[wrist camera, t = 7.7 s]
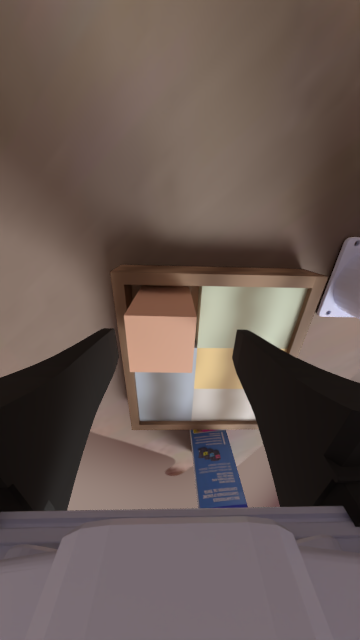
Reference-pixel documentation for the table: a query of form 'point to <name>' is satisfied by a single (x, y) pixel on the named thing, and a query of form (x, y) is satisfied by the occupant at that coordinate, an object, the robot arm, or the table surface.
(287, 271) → the puzzle tray
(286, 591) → the robot arm
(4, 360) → the table surface
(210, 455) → the ink cartridge box
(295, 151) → the table surface
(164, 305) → the terracotta block
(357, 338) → the table surface
